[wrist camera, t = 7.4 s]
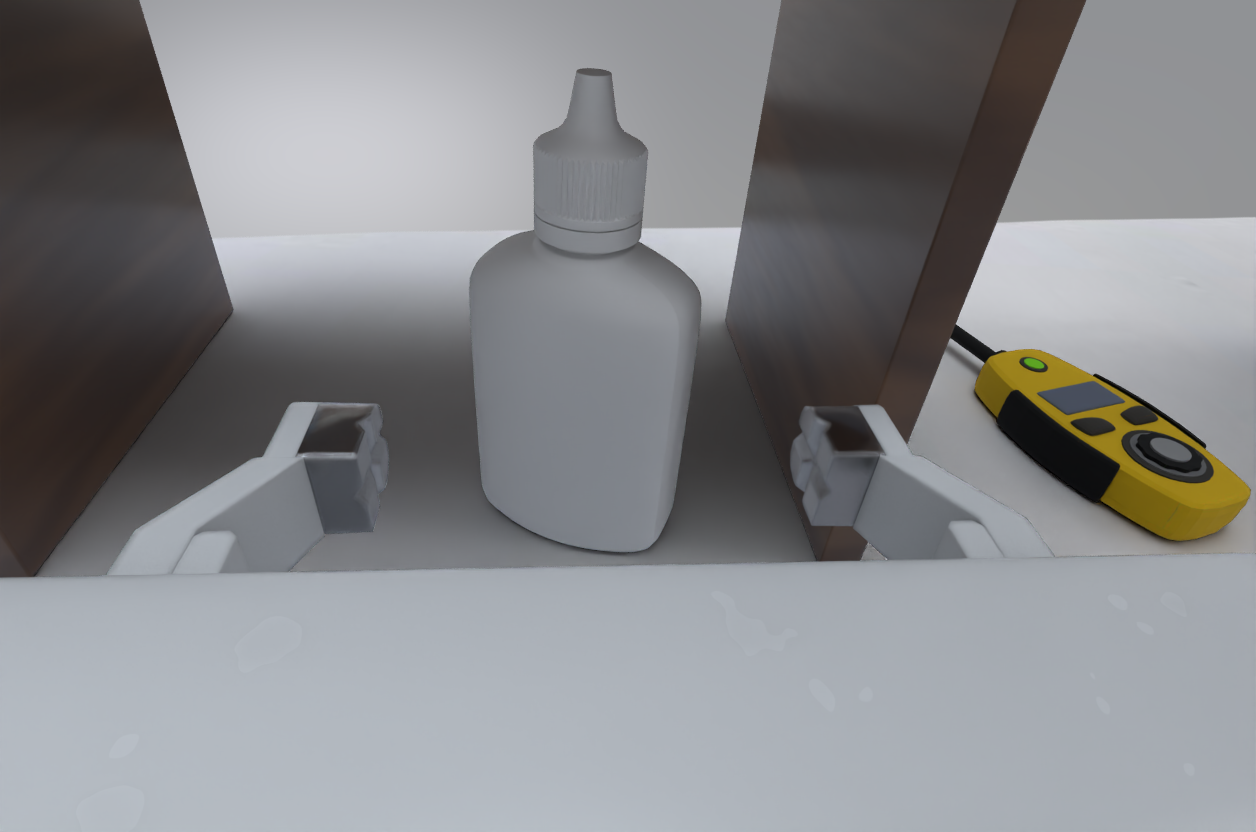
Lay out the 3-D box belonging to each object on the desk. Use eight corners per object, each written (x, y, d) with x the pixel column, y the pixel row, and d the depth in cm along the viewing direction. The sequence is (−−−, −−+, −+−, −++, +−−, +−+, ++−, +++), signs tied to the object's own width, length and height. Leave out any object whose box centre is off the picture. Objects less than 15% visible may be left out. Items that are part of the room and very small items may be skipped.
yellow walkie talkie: (1186, 512, 20) (869, 278, 31) (1150, 558, 21) (857, 316, 32) (1292, 480, 22) (954, 268, 32) (1253, 524, 23) (940, 305, 34)
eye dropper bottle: (578, 432, 24) (593, 40, 17) (693, 529, 21) (773, 94, 13) (465, 482, 22) (426, 51, 14) (574, 601, 18) (594, 120, 11)
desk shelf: (751, 321, 31) (860, -223, 20) (859, 565, 20) (1229, -349, 9) (203, 309, 29) (-6, -318, 18) (-20, 580, 18) (-934, -646, 7)
